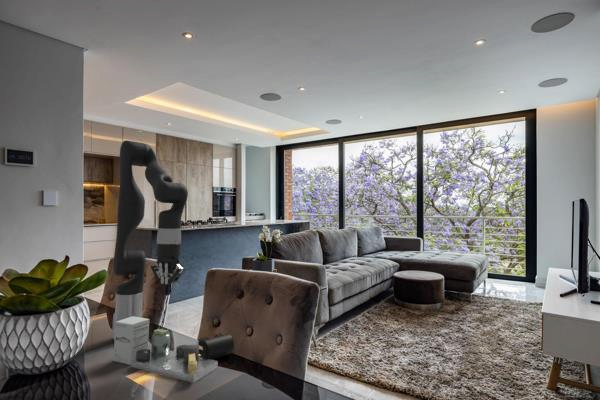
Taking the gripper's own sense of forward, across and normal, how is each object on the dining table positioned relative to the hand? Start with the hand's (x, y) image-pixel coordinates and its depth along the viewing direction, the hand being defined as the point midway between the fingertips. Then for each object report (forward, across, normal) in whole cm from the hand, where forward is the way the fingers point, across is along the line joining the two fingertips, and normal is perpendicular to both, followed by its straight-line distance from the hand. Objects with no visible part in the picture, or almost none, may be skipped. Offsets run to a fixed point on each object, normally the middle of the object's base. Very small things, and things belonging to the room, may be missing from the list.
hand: (166, 295), depth 110 cm
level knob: (+18, +15, -4) cm, 24 cm away
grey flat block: (+21, +7, -3) cm, 22 cm away
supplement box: (+21, -10, -4) cm, 24 cm away
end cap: (+21, +14, +9) cm, 27 cm away
